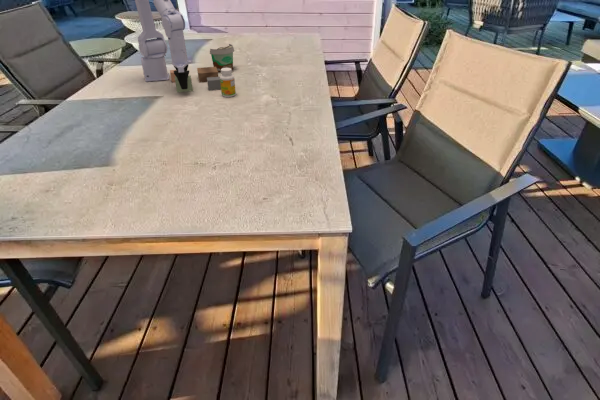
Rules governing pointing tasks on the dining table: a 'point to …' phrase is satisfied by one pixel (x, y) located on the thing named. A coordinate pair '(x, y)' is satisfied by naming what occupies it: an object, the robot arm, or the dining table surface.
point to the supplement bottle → (227, 83)
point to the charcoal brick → (214, 83)
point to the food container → (222, 57)
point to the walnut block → (206, 73)
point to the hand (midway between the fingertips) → (184, 85)
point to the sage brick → (180, 86)
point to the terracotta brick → (172, 75)
